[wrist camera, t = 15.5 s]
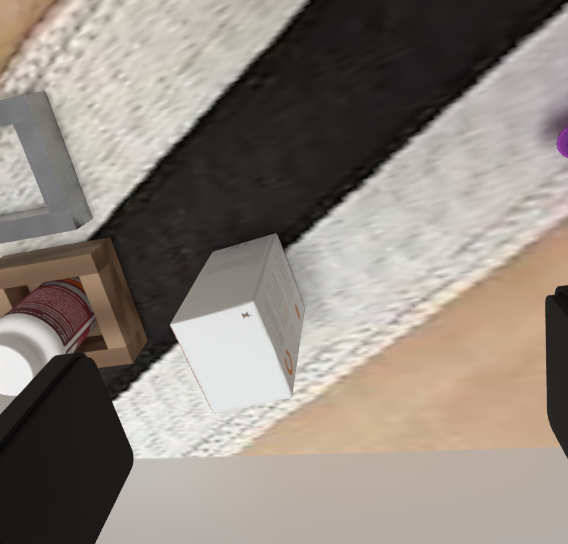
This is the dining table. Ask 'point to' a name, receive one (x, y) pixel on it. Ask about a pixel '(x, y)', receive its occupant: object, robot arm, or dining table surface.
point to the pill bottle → (42, 331)
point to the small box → (242, 325)
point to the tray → (98, 287)
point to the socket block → (43, 172)
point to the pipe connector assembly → (563, 142)
